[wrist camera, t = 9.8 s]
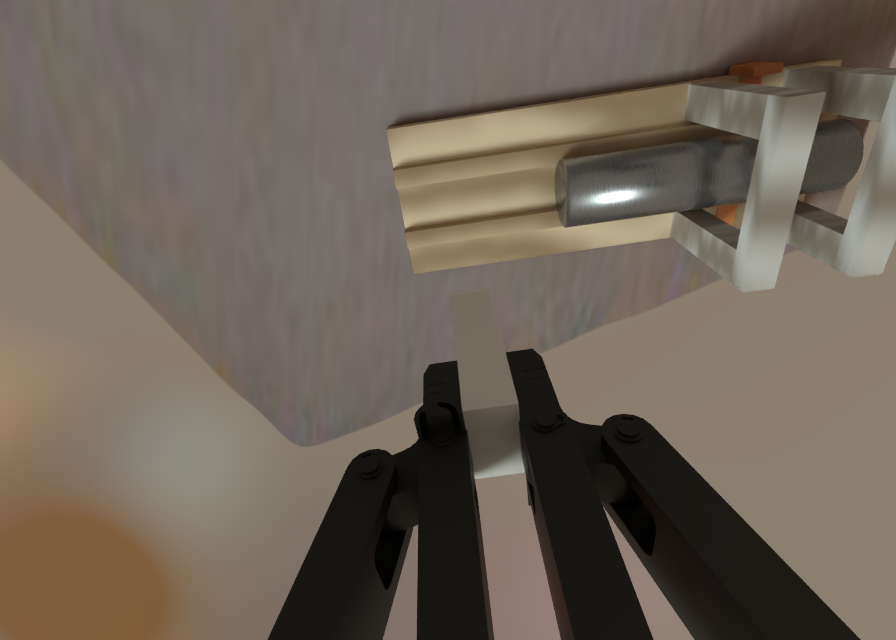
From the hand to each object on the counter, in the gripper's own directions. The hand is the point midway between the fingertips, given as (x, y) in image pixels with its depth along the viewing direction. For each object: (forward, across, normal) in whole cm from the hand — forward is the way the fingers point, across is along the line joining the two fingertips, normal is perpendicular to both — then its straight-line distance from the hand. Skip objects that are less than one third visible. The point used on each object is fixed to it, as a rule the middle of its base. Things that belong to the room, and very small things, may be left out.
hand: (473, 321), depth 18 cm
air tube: (+21, +18, -2) cm, 28 cm away
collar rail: (+22, +12, -2) cm, 26 cm away
